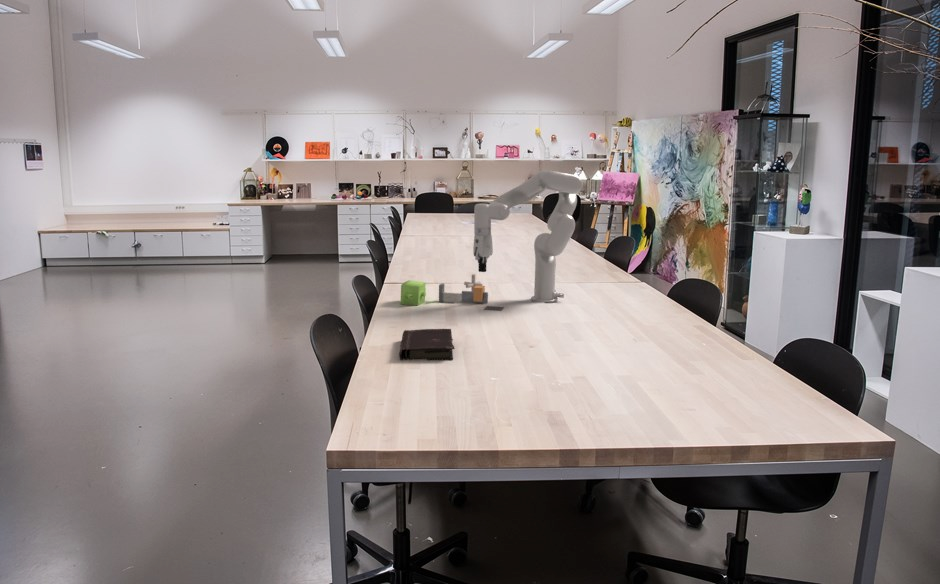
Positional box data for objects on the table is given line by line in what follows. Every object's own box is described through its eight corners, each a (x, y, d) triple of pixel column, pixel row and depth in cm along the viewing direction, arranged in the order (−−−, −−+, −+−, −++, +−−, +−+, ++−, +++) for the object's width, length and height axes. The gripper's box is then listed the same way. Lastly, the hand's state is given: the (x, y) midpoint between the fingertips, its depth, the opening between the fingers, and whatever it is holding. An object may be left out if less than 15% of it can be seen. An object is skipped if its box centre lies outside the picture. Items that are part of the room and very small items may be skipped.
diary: (399, 362, 234) (398, 348, 233) (402, 342, 258) (402, 329, 257) (455, 361, 235) (455, 347, 234) (453, 341, 259) (453, 328, 258)
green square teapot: (418, 309, 313) (419, 288, 311) (397, 306, 315) (397, 286, 313) (430, 300, 330) (431, 280, 328) (410, 298, 332) (410, 278, 330)
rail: (488, 302, 325) (488, 285, 324) (486, 305, 320) (486, 287, 319) (441, 300, 330) (441, 283, 329) (438, 302, 325) (438, 285, 324)
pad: (504, 307, 315) (504, 307, 315) (501, 311, 307) (501, 310, 307) (486, 306, 317) (486, 305, 317) (483, 310, 309) (483, 309, 309)
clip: (484, 299, 326) (484, 285, 324) (481, 301, 320) (482, 288, 319) (476, 298, 327) (476, 285, 325) (473, 301, 321) (473, 287, 320)
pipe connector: (475, 297, 336) (475, 277, 335) (458, 295, 342) (459, 274, 340) (487, 294, 344) (487, 274, 342) (471, 292, 350) (471, 272, 348)
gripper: (481, 233, 309) (481, 274, 312) (498, 230, 321) (497, 270, 325) (466, 232, 313) (466, 273, 316) (483, 229, 325) (483, 268, 329)
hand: (482, 271), depth 321 cm, fingers closed
